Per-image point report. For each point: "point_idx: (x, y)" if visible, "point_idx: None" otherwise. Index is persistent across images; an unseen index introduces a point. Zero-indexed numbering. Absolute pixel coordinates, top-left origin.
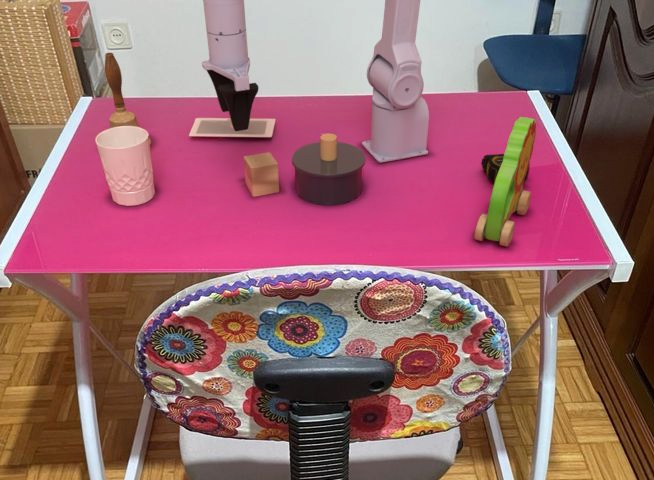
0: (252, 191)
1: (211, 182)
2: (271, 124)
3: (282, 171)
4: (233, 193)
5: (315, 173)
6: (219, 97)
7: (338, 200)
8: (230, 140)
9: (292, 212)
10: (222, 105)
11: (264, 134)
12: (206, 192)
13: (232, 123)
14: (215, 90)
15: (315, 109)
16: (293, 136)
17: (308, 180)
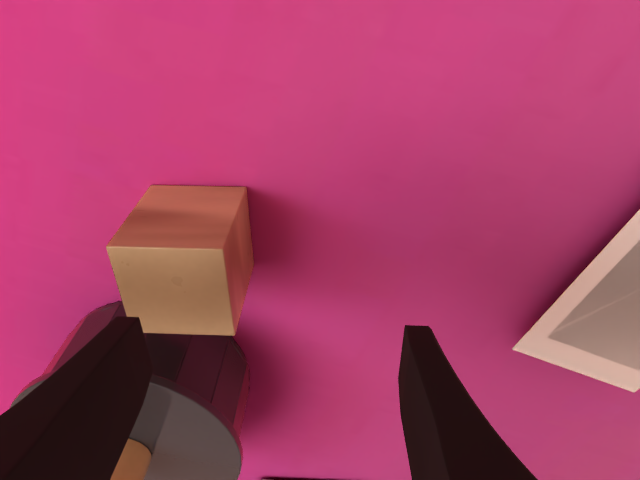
0: (147, 194)
1: (306, 71)
2: (603, 372)
3: (301, 305)
4: (193, 129)
5: (16, 400)
6: (421, 392)
7: None
8: (618, 229)
9: (39, 258)
10: (410, 357)
11: (545, 337)
12: (227, 28)
13: (89, 343)
14: (484, 416)
15: (637, 472)
16: (511, 389)
17: (56, 363)
